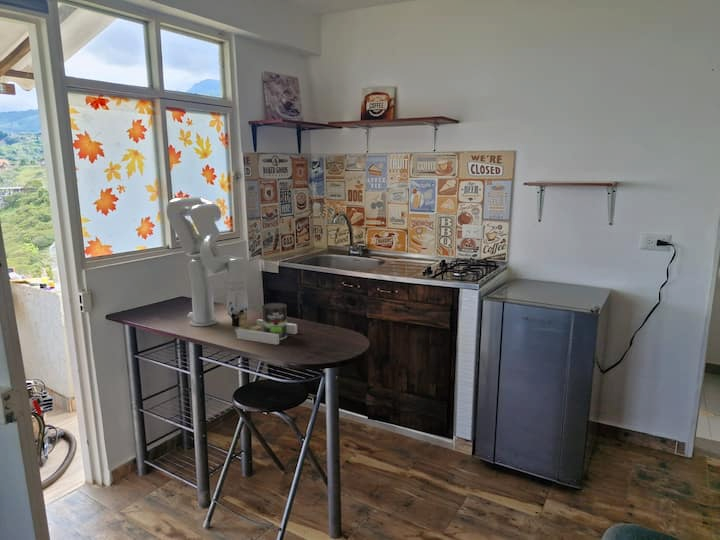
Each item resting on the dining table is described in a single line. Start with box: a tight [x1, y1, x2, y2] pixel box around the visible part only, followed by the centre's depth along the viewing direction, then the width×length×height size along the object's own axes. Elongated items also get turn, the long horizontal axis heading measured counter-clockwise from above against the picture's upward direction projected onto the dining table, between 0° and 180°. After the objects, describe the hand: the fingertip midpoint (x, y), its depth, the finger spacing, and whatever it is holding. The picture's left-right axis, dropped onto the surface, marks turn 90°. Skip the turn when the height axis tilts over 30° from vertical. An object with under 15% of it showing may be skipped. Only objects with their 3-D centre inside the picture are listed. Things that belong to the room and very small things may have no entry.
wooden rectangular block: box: [234, 311, 263, 334], centre depth 220 cm, size 12×4×8 cm, turn 67°
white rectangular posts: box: [235, 318, 298, 346], centre depth 217 cm, size 20×17×4 cm
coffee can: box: [261, 302, 288, 341], centre depth 214 cm, size 10×10×14 cm
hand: (238, 324), depth 222 cm, fingers closed on wooden rectangular block, 4 cm apart
